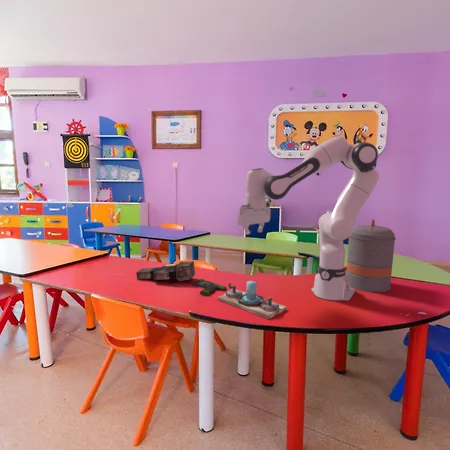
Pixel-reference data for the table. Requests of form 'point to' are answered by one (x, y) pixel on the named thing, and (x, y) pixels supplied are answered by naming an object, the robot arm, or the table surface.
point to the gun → (208, 286)
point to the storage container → (370, 257)
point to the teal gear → (251, 293)
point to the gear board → (261, 309)
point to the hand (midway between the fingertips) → (253, 233)
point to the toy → (169, 272)
